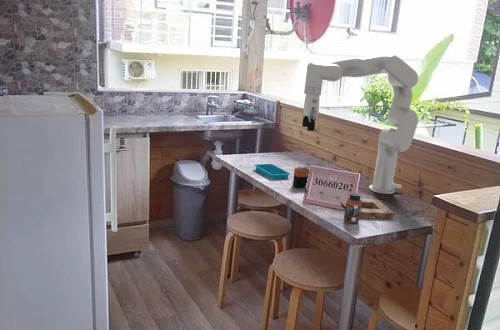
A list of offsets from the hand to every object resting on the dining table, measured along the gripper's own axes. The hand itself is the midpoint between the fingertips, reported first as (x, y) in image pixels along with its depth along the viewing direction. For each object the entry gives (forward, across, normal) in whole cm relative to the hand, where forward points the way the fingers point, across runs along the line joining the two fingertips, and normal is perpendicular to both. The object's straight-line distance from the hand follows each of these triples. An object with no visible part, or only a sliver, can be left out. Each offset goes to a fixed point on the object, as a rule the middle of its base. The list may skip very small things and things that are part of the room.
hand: (308, 128), depth 203 cm
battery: (+30, +6, -1) cm, 30 cm away
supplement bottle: (+30, -37, -12) cm, 49 cm away
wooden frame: (+30, -24, -24) cm, 45 cm away
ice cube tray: (+30, +26, +10) cm, 41 cm away
